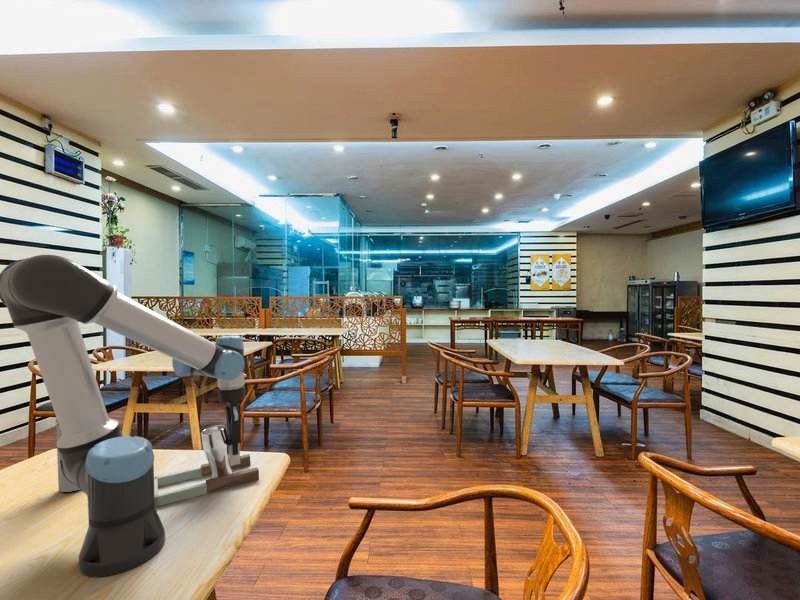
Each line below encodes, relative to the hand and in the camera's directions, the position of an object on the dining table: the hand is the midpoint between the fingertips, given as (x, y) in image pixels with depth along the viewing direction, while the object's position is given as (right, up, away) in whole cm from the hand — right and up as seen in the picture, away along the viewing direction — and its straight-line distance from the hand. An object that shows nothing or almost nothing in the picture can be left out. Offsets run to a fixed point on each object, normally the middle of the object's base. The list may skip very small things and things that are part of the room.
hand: (235, 463), depth 120 cm
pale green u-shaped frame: (-13, -4, -8) cm, 16 cm away
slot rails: (-1, -4, -1) cm, 4 cm away
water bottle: (-44, -5, -5) cm, 44 cm away
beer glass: (-3, -4, -2) cm, 5 cm away
